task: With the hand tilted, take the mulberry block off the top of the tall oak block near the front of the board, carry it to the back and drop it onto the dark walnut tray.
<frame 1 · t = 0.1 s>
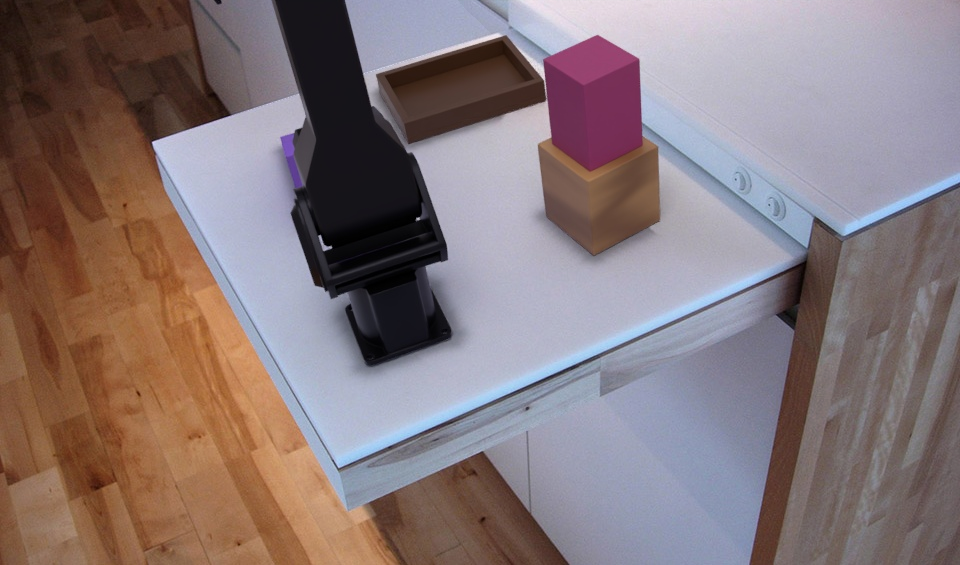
oak block: (602, 218, 80), on the worktop, touching mulberry block
purple block: (333, 176, 90), on the worktop
mulberry block: (596, 144, 76), point 7 cm above the worktop, touching oak block
tray: (461, 97, 96), on the worktop
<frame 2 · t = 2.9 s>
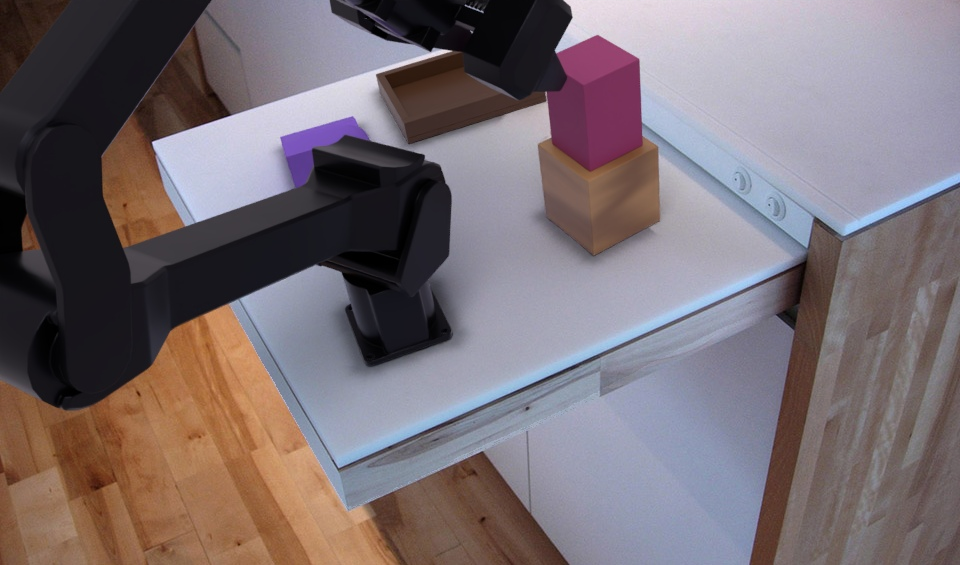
hand: (516, 64, 71), 15 cm above the worktop, tool tilted 40°, fingers open, 9 cm apart
nothing on the worktop moved.
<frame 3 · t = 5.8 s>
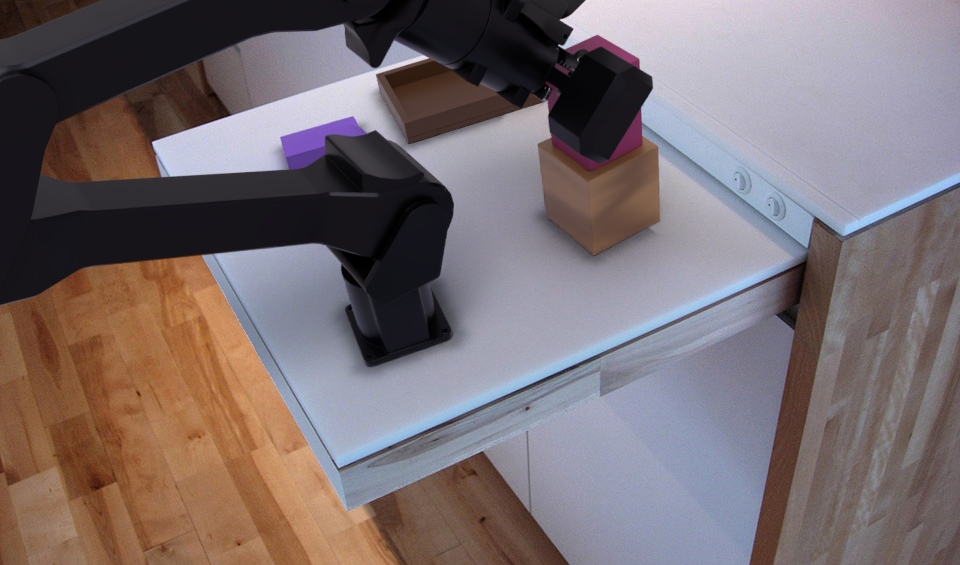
hand: (610, 104, 74), 10 cm above the worktop, tool tilted 45°, fingers closed on mulberry block, 5 cm apart
mulberry block: (596, 144, 76), point 7 cm above the worktop, touching gripper, oak block
everything else where it was.
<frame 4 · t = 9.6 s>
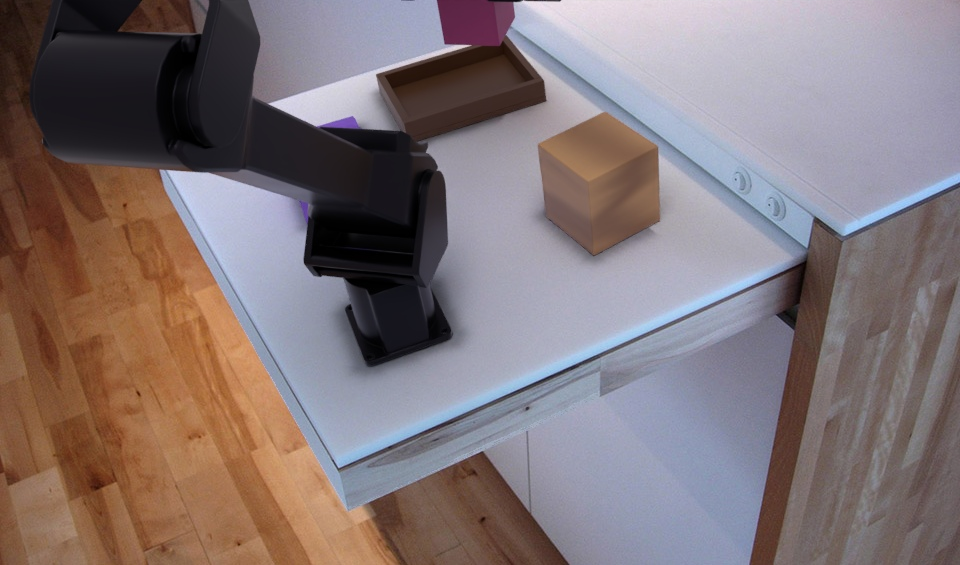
oak block: (602, 218, 80), on the worktop
mulberry block: (480, 31, 85), point 10 cm above the worktop, touching gripper
everything else where it was.
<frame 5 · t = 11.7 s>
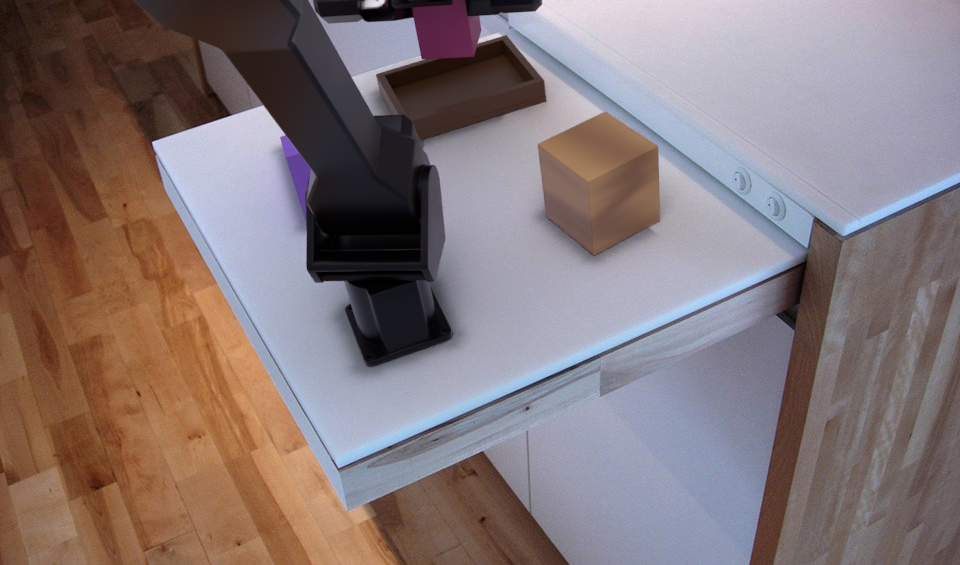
hand: (449, 8, 92), 8 cm above the worktop, tool tilted 45°, fingers closed on mulberry block, 5 cm apart
mulberry block: (451, 44, 93), point 6 cm above the worktop, touching gripper
everything else where it was.
when the fingers open (3 cm above the worktop, at t = 13.6 s): mulberry block stays where it is, resting on tray.
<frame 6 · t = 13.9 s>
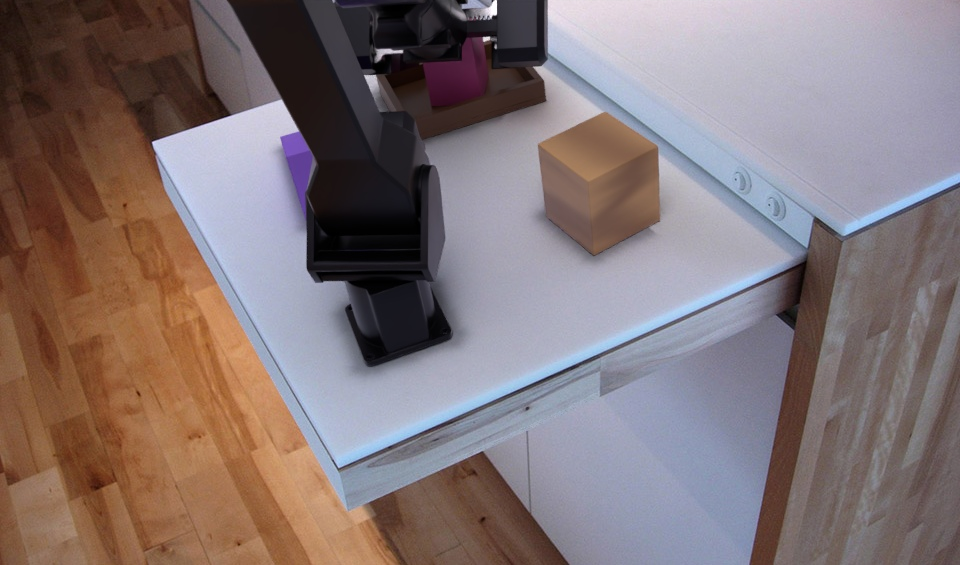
hand: (458, 57, 95), 3 cm above the worktop, tool tilted 45°, fingers open, 7 cm apart
mulberry block: (460, 91, 96), point 1 cm above the worktop, touching tray
everything else where it was.
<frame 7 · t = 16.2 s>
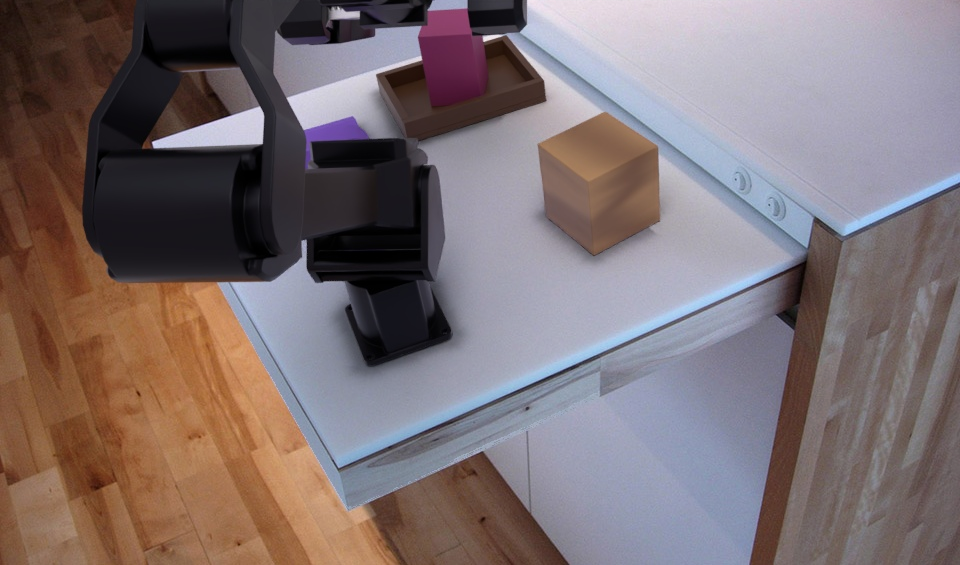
hand: (427, 27, 84), 11 cm above the worktop, tool tilted 45°, fingers open, 9 cm apart
nothing on the worktop moved.
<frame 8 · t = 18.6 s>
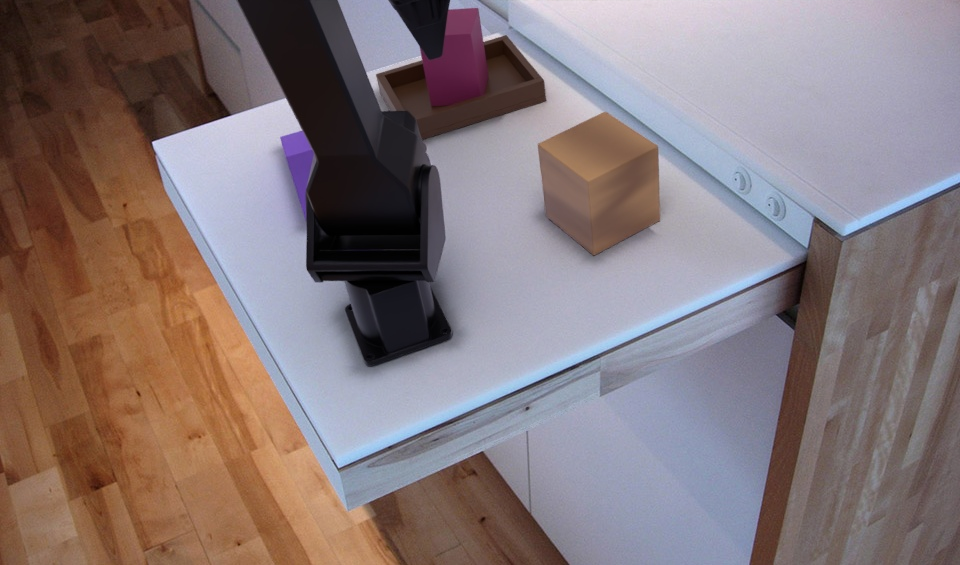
hand: (417, 32, 80), 13 cm above the worktop, tool pointing down, fingers open, 9 cm apart
nothing on the worktop moved.
at the end: mulberry block inside the target area in the tray (0.1 cm from its centre), point 0.6 cm above the tray's base; mulberry block touching tray; oak block moved 0.0 cm from its start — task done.
